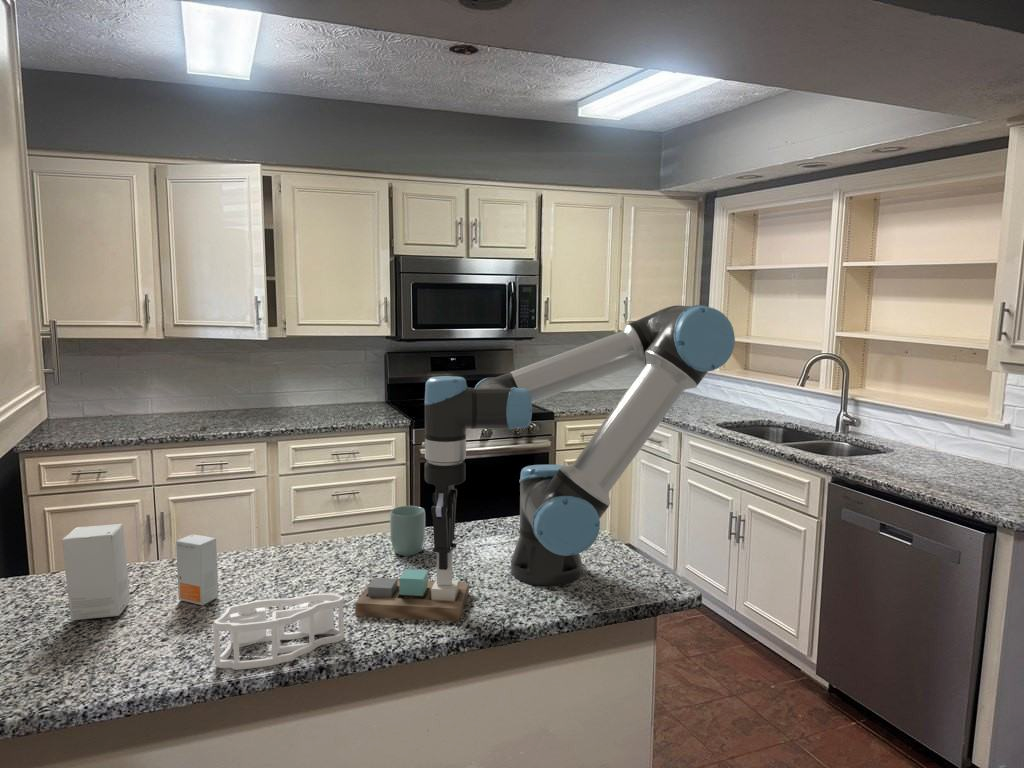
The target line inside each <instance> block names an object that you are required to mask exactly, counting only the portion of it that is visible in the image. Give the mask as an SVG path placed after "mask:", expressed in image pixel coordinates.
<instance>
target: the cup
mask: <svg viewBox="0 0 1024 768" xmlns="http://www.w3.org/2000/svg"><path fill="white" fill-rule="evenodd" d="M389 529H390V531H389V532H390V533H389V534H390V541H391V546H392V549H393V551H394V553H396V554H397V555H399V556H406V557H410V556H411V557H412V556H415V555H417V554H419V553H420V552H421V551H422V549H423V547H424V544H425V539H426V510H425V508H424V507H420V506H417V505H401V506H397V507H394V508H392V509H391V511H390V515H389Z"/></svg>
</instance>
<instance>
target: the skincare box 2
mask: <svg viewBox="0 0 1024 768" xmlns="http://www.w3.org/2000/svg"><path fill="white" fill-rule="evenodd" d="M175 546H176V547H175V549H176V567H177V569H176V570H177V591H178V600H179V601H182V602H183V601H184V602H187V603H192V604H196V605H199V606H205V605H206V604H208V603H210V602H212V601H213V600H216V599H217V598H218V597H219V581H218V580H219V579H218V578H219V577H218V557H217V556H218V555H217V554H218V553H217V538H216V537H210V536H208V535H207V536H206V535H198V534H189V535H187V536H185V537H181V538H179V539H178V540H176V541H175Z"/></svg>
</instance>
